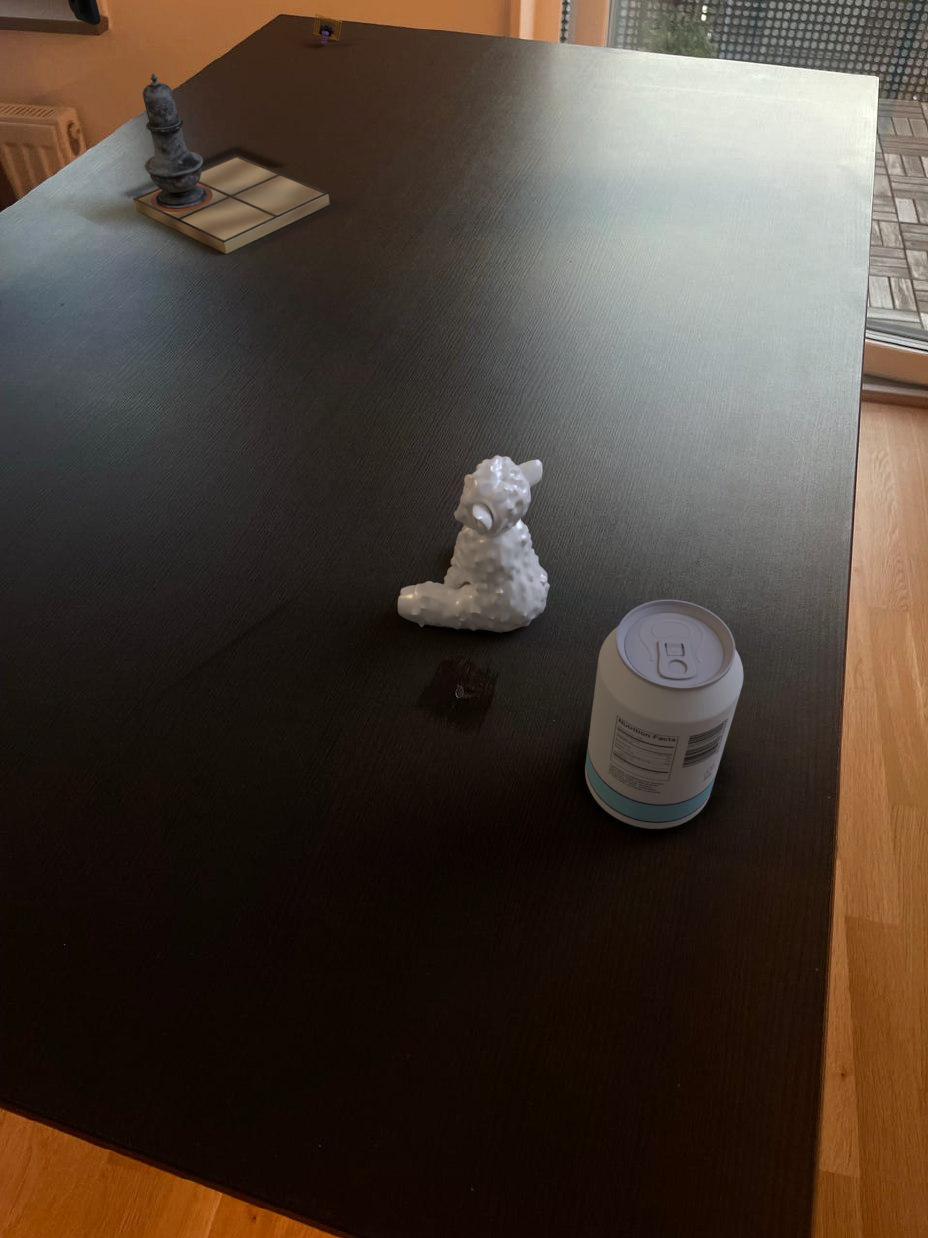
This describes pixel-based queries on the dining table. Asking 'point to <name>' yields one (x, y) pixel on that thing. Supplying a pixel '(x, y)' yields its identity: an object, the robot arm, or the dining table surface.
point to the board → (238, 204)
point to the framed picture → (326, 29)
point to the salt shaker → (170, 151)
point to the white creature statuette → (487, 557)
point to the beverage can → (661, 713)
